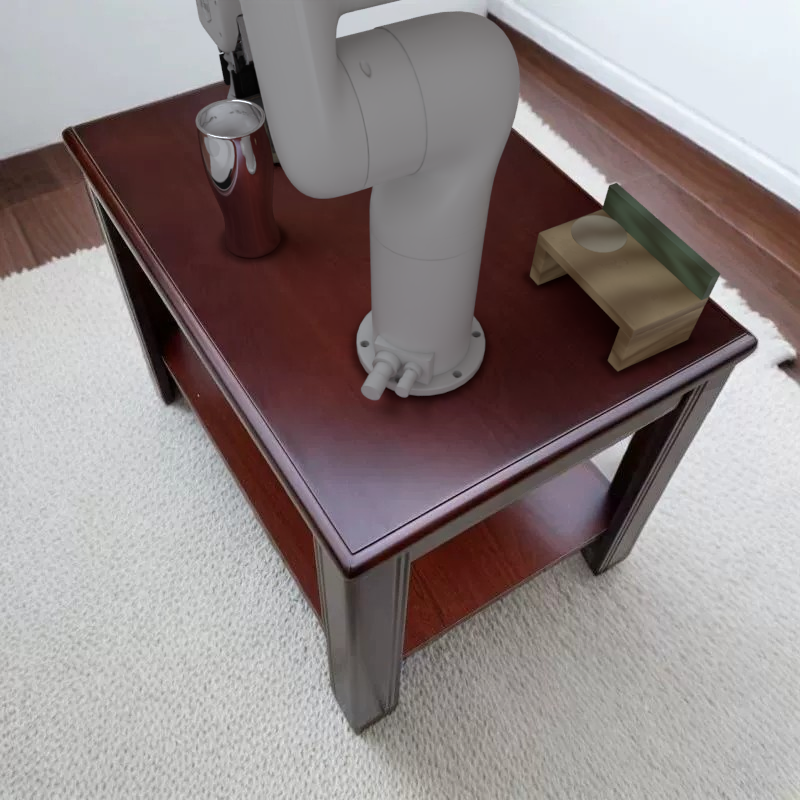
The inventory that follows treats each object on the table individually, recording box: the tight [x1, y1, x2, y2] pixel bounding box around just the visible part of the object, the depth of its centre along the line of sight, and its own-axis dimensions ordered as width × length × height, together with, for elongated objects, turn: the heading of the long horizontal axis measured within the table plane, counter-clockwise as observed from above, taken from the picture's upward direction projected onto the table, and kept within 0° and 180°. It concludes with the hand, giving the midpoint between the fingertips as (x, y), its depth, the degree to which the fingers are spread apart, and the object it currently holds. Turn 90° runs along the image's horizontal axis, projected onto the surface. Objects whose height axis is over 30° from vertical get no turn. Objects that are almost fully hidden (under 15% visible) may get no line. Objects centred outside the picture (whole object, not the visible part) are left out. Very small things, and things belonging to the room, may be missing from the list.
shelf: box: [529, 182, 721, 372], centre depth 72 cm, size 15×9×9 cm, turn 28°
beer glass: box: [195, 98, 281, 259], centre depth 75 cm, size 7×7×15 cm
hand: (242, 88), depth 95 cm, fingers closed on rook chess piece, 3 cm apart
